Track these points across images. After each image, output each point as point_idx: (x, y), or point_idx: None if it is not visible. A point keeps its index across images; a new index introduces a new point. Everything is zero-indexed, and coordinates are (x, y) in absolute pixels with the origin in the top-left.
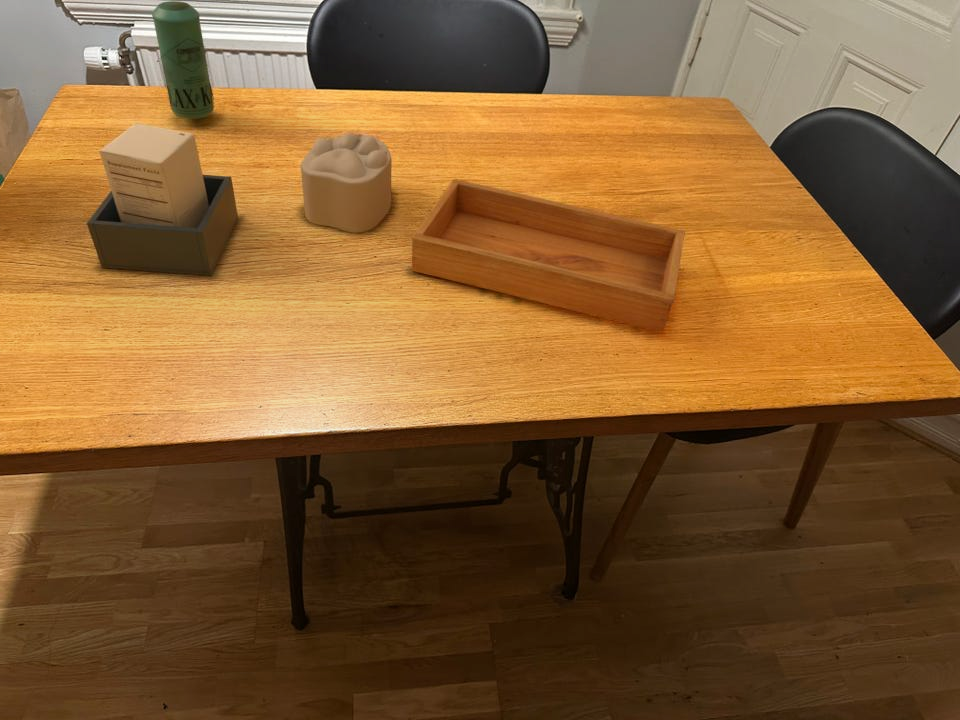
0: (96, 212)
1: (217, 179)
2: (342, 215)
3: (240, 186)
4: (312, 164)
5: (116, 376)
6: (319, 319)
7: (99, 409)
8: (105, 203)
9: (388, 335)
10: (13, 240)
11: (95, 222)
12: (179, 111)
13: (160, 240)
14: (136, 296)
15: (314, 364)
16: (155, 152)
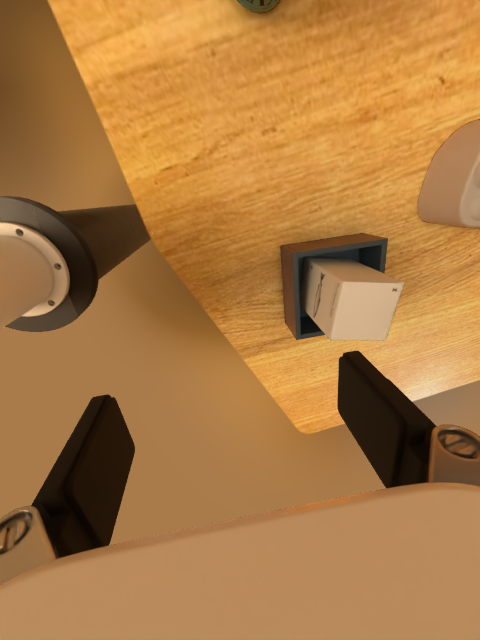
0: (297, 326)
1: (375, 245)
2: (461, 226)
3: (354, 172)
4: (474, 213)
5: (330, 395)
6: (428, 330)
7: (330, 412)
8: (298, 312)
9: (467, 332)
10: (209, 311)
11: (302, 337)
12: (252, 6)
13: None
14: (317, 341)
15: (425, 363)
16: (378, 328)
